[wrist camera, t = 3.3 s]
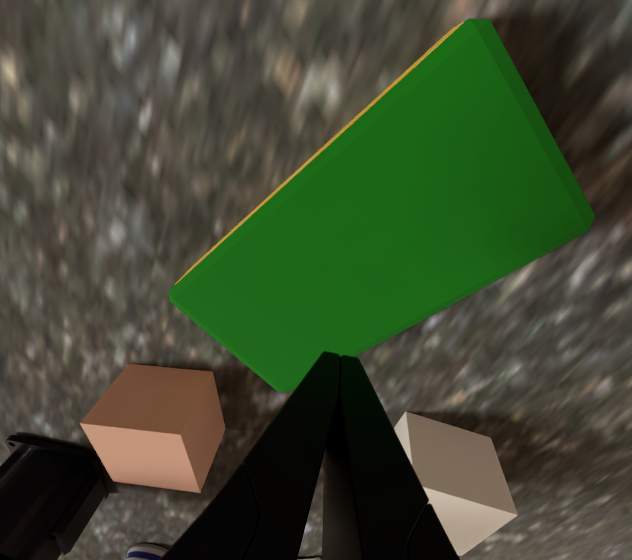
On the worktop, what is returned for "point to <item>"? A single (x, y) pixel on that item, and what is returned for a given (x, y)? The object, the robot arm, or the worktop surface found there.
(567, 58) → the worktop surface
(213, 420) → the terracotta block
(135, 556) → the energy drink
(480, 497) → the cream block
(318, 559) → the supplement box
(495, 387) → the worktop surface
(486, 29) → the dish sponge
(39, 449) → the robot arm
